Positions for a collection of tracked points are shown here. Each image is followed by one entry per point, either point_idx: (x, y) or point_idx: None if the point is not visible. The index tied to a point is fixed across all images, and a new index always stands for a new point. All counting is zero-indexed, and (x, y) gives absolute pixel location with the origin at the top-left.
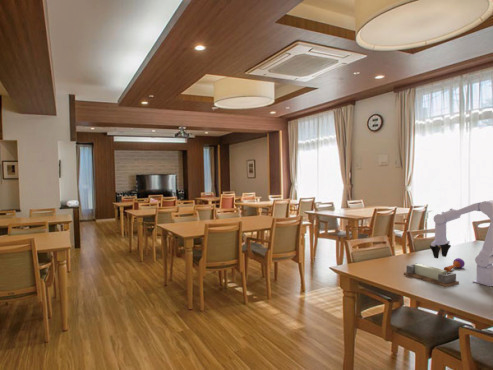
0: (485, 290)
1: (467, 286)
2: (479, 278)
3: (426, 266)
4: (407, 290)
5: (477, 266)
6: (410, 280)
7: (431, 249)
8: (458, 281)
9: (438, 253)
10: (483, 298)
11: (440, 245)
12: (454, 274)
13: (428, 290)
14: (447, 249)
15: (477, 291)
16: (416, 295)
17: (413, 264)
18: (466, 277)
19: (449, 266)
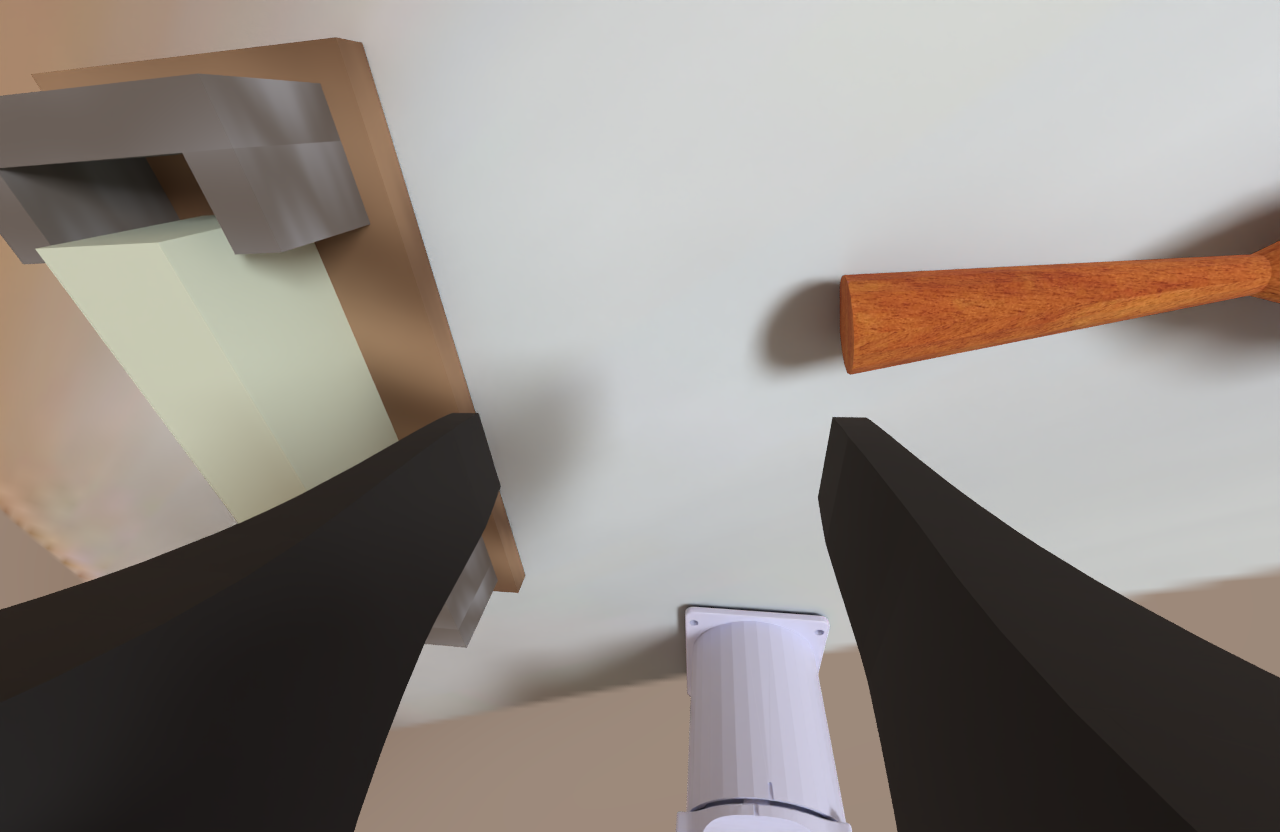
0: (575, 685)
1: (533, 620)
2: (692, 681)
3: (222, 421)
4: (8, 485)
5: (701, 801)
6: (101, 338)
7: (145, 563)
8: (512, 591)
9: (416, 618)
10: (438, 706)
11: (1131, 805)
12: (443, 641)
13: (177, 544)
14: (891, 785)
15: (506, 671)
16: (56, 553)
17: (88, 110)
18: (795, 532)
19: (967, 336)
